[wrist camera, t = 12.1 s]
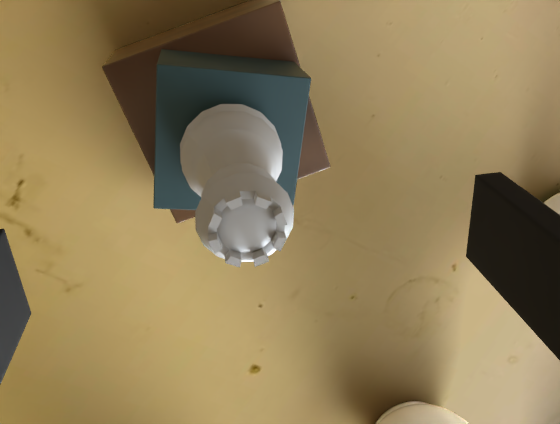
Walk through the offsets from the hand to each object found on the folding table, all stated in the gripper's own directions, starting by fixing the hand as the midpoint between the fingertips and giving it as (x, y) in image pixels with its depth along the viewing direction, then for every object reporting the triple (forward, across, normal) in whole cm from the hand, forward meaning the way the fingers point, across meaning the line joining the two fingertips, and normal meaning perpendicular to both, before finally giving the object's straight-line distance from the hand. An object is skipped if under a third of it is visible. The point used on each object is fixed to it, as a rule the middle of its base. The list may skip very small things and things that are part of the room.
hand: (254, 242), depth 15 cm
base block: (+18, 0, 0) cm, 19 cm away
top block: (+14, 0, 0) cm, 14 cm away
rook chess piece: (+10, 0, 0) cm, 10 cm away
